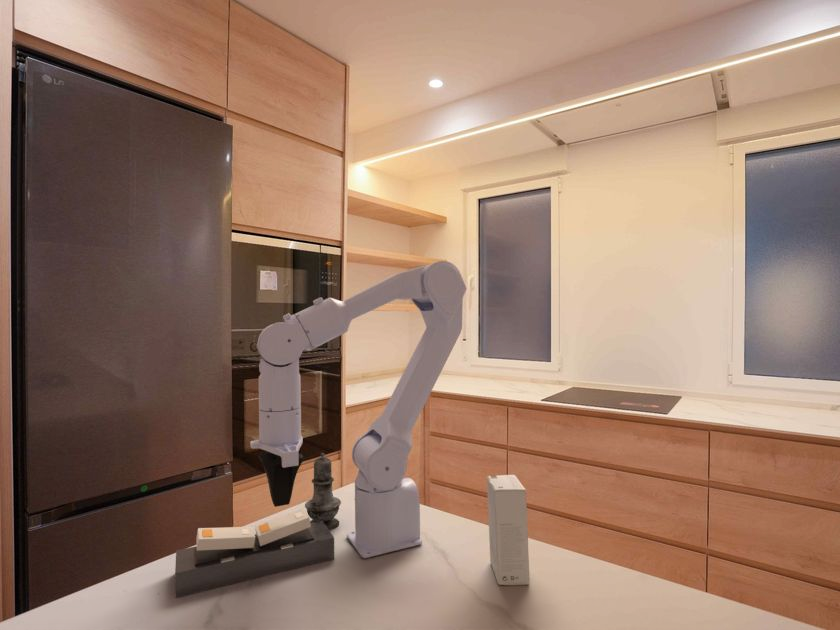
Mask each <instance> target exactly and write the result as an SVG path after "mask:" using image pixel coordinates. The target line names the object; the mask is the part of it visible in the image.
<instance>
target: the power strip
mask: <svg viewBox="0 0 840 630" xmlns="http://www.w3.org/2000/svg"><path fill="white" fill-rule="evenodd" d="M310 524H311V527H309V528H306V529H304V530H301V531H299V532H296V533H293V534H291V535H288V536H286V537H283V538H281V539H278V540H275V541H273V542H270V543H268V544H265V545H262V546H260V544H259V541H258V538H257V535H256V533H254V534H255V543H254V548H239V549H219V550H199V551H197V545H196V546H192V547H191V546H190V547H187V548H183V549H178V550H176V551H175V566H174V567H175V568H174V570H175V572H174V573H175V574H174V581H175V591H174V592H175V597H174V598H175V599H177V598H180V597H184V596H189V595H192V594H193V595H194V594H196V593H197V594H198V593H201V592H205V591H209V590H213V589H216V588H220V587H225V586H229V585H234V584H238V583H242V582H245V581H250V580H254V579H258V578H263V577H267V576H269V575H274V574H278V573H282V572H286V571H291V570H294V569H298V568H303V567H307V566H311V565H315V564H319V563H320V564H321V563H323V562H328V561H331V560H332V561H333V560H334V559H335V537H334V535H333V534H332V533H331V530H330V531H329V529H328V528H327V526H326V525H325V524H324V522H323V521H317V522H313V523H310Z"/></svg>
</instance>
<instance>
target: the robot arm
mask: <svg viewBox="0 0 840 630" xmlns="http://www.w3.org/2000/svg"><path fill="white" fill-rule="evenodd" d="M466 290H467V286H466V284H465V281H464V278H463V276H462V273H461V271H460V270H459V268H458V267H457V266H456V265H455V264H454V263H452V262H450V261H448V260H437V261H435V262H433V263H431V264H428V265H424V266H423V265H422V266H417V267H415V268H413V269H409V270H406V271H402V272H400V273H395V274H392V275H390V276H388V277H386V278H384V279H382V280H380V281H378V282H376V283H375V284H373V285H371V286H369V287H367V288H365V289H364V290H361V291H360V292H358V293H356V294H353V295H351V296H350V297H348V298H346V299H344V300H342V301H341V300H338V299H336V298H333V297H328V298H325V299H323V297H318V298H316V299H314V300H313V301H312V302H313V305H311V306H309V307H307V308H304V309H303V310H300V311H298V312H296V313H293V314H292V315H291V313H287V314H285V315H283V316H282V319H283V321H281V322H280V321H279V322H275V323H272V324H270V325H268V326H266V327H265V328H264V329H262V331H261V332H260V334H259V336H258V340H257V342H256V348H257V351H258V354H259V355H260V356H261V357H262V358H260V362H259V365H258V367H259V369H258V371H259V373H260V375H259V376H258V434H259V435H258V439H255V440H251V441H250V443H249V444H250V446H249V447H250V448H251V449H253V450H255V449H256V450H257V449H261V450H263V451H264V452H261V453H258V459H259V460H260V462H261V464H262V466H263V469H264V471H265V475H266V478H267V483H268V487H269V493H270V497H271V498H270V499H271V501H272V505H273V506H274V507H275V508H276V507H283V506H288V505H289V504H290V503H291V501H292V500H291V499H292V495H293V489H294V485H295V479H296V477H297V473H298V472H299V469H300V467H301V465H302V463H303V461H304V455H303V454H302V453H301V450H300V448H301V447H302V445H303V442H304V441H303V439H304V438H303V436H302V406H301V405H302V400H301V399H302V393H301V391H302V390H301V389H302V388H301V387H302V386H301V385H302V384H301V382H302V381H301V378H302V377H301V376H302V375H301V374H300V358H301V355H302V354H303V351H307V352H310V351H312V350H314V349H317V348H318V347H320V346H322V345H324V344H326V343H327V342H330V341H331V340H334V339H335V338H338V337H340V336H342V335H344V334H346V333H347V332H348V330H349V328H350V324H351V322H352V321H353V319H357V318H358V317H361V316H362V315H365V314H367V313H369V312H371V311H373V310H376V309H378V308H380V307H382V306H385V305H386V304H389V303H391V302H394V301H395V300H403V301H404V300H405V301H406V300H411V301H412V303H413V304H414V305H415V306H416V308H417V309H418V311H420V313H421V316H422V318H423V319H422V320H423V321H424V323H425V330H424V332H423V334H422V336H421V337H420V340H419V341H418V344H417V345H416V348H415V349H414V351H413V353H412V355H411V357H410V359H409V360H408V363H407V365H406V367H405V369H404V371H403V372H402V374H401V376H400V378H399V380H398V382H397V384H396V386H395V388H394V389H393V392H392V393H391V396H390V398H389V400H388V402H387V403H386V405H385V408H384V410H383V412H382V413H381V414H380V416H378V417H377V418H376V419H375V420H373V422H371V424H370V426H369V428H368V430H367V431H366V432H365V433H364V434H362V435H361V436H360V437H359V438H358V439H357V440H356V441H355V443H354V445H353V446H352V450H351V459H352V461H353V463H354V465H355V466H356V468H357V469H358V473H357V475H356V477H355V479H354V515H355V516H354V519H355V520H354V522H355V524H354V525H355V527H354V529H355V530H353V531H350V532H347V533H346V538H348V539H347V540H349V542H350V543H351V544H352V546H353V547H354V548H355V549H356V551H357V552H358V553H359V555H360V556H361V557H362V558H363V559H367V558H372V557H376V556H380V555H384V554H387V553H391V552H395V551H399V550H400V551H401V550H403V549H407V548H411V547H415V546H419V545H422V544H423V539H422V538H421V513H420V512H421V507H420V505H421V504H420V502H421V501H420V495H419V491H418V487H417V484H416V483H415V481H414V480H413V479H412V478H410V477H405V476H406V474H407V469H408V457H409V455H410V452H411V450H412V448H413V439H412V438H413V437H412V435H413V434H412V432H413V428H414V427H415V425H416V423H417V422H418V421H417V420H418V419H419V417H420V415H421V413H422V411H423V409H424V406H425V405H426V403H427V401H428V399H429V396H430V394H431V393H432V391H433V389H434V386H435V385H436V383H437V381H438V379H439V376H440V375H441V373H442V372H443V371H442V370H443V369H444V367H445V365H446V362H447V361H448V358H449V357H450V354H451V353H452V351H453V349H454V346H455V344H456V343H457V340H458V339H459V336H460V335H461V332H462V330H463V306H464V305H463V302H464V301H463V300H464V296H465V293H466Z"/></svg>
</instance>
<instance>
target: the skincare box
mask: <svg viewBox="0 0 840 630" xmlns="http://www.w3.org/2000/svg"><path fill="white" fill-rule="evenodd" d="M486 489H487V491H486V494H487V511H488V512H487V514H488V515H487V516H488V534H489V535H488V536H489V537H488V539H489V557H490V558H489V559H490V560H489V562H490V564H491V567H492V569H493V573H494V576H495V578H496V582H497V584H498V585H500V586H524V585H525V586H527V585H529V584H530V560H529V558H530V557H529V536H528V535H529V531H528V510H527V508H528V507H527V506H528V505H527V489H526V488H525V486H524V485H523V484H522V482H521V481H520V480H519V478H518V477H517V476H516V474H503V475H501V474H500V475H488V476H486Z"/></svg>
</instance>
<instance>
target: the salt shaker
mask: <svg viewBox="0 0 840 630" xmlns="http://www.w3.org/2000/svg"><path fill="white" fill-rule="evenodd" d="M334 481H335V479H334V477H333V476H332V460H331V459H330V458H329V457H326V456H325V453H324V452H321V454H320V457H317V458H316V459H315V460H314V462H313V478H312V479H311V483H312V484H313V495H312V498H311V499H309V500H307V501H306V502H305V504H304V509H306V513H307V515H308V516H309V519H310V523H313V522H317V521H323V522H324V524H325V525H326V526H327V528H328V529H329V531H330V532H331V531H333V530H335V529H337V528H338V527H339V525H340V520H338V518H336V515H337V514H338V513H339V510H340V505H341V504H342V500H341V499H340V498H338V497H335V496H334V494H333V482H334Z"/></svg>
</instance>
